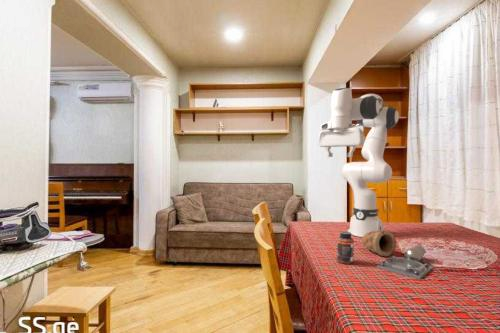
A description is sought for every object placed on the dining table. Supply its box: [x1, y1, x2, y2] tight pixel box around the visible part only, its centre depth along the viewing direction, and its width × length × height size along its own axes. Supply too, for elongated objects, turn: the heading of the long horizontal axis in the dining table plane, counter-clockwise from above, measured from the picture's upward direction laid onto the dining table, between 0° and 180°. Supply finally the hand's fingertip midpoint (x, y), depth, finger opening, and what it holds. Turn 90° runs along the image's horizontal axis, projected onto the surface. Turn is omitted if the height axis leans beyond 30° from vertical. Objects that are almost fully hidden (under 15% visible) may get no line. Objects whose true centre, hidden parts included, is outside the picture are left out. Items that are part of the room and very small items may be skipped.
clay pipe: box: [361, 229, 397, 257], centre depth 126 cm, size 19×11×15 cm
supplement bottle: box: [336, 231, 355, 265], centre depth 111 cm, size 6×6×11 cm
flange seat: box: [376, 245, 433, 280], centre depth 109 cm, size 24×14×5 cm, turn 134°
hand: (339, 156), depth 126 cm, fingers open, 8 cm apart
